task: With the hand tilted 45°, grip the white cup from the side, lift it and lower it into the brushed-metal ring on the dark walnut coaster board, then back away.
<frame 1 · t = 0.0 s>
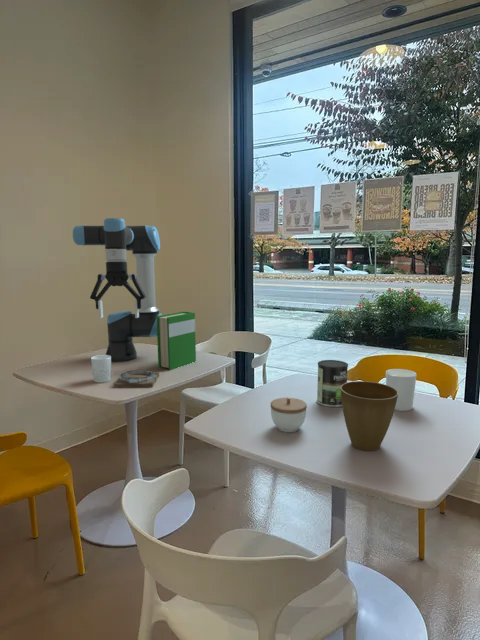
hand: (119, 317, 163), 28 cm above the table, tool pointing down, fingers open, 13 cm apart
plant pot: (366, 445, 118), on the table
white cup: (102, 380, 178), on the table
hardback book: (177, 365, 202), on the table
coffee can: (331, 402, 151), on the table
ring holder: (137, 381, 176), on the table
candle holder: (399, 407, 147), on the table
lidded jar: (288, 428, 130), on the table
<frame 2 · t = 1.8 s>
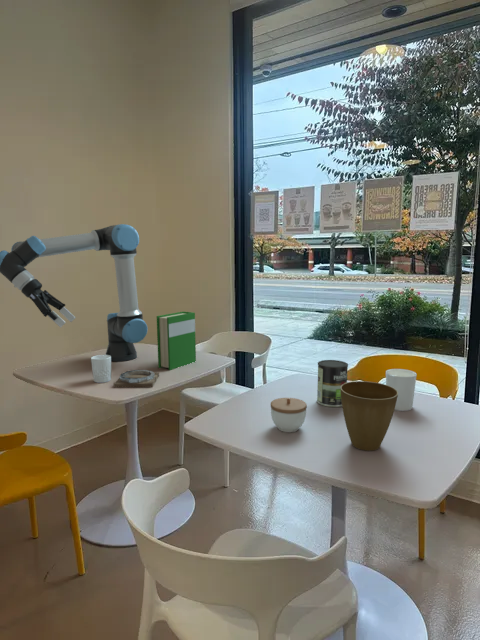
hand: (68, 322, 173), 25 cm above the table, tool tilted 45°, fingers open, 13 cm apart
nothing on the table moved.
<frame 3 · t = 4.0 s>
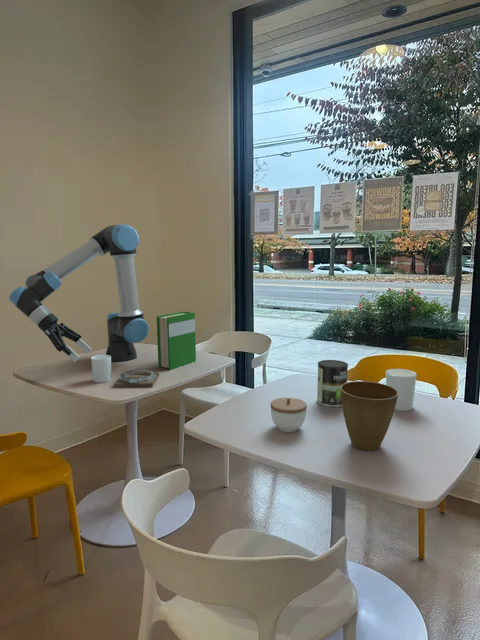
hand: (83, 355, 175), 11 cm above the table, tool tilted 45°, fingers open, 13 cm apart
nothing on the table moved.
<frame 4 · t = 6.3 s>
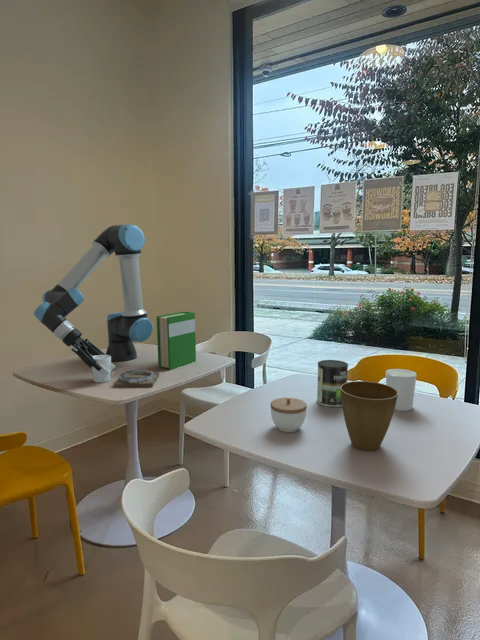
hand: (110, 371, 178), 4 cm above the table, tool tilted 45°, fingers closed on white cup, 8 cm apart
white cup: (102, 380, 178), on the table, touching gripper
everything else where it was.
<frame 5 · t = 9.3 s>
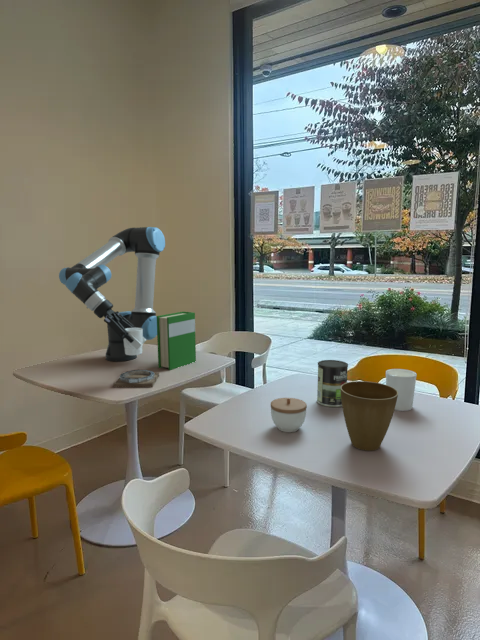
hand: (141, 344, 174), 16 cm above the table, tool tilted 45°, fingers closed on white cup, 8 cm apart
white cup: (133, 354, 174), point 12 cm above the table, touching gripper
everything else where it was.
when the fingers open (6 cm above the table, at t = 12.2 s): white cup stays where it is, resting on ring holder.
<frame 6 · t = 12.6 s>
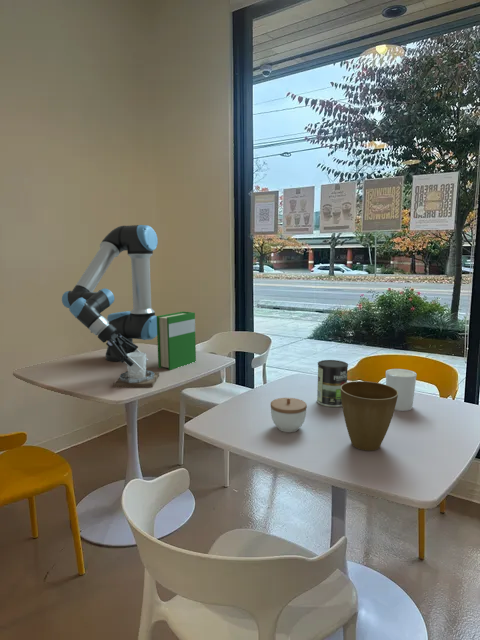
hand: (142, 365, 175), 7 cm above the table, tool tilted 45°, fingers open, 13 cm apart
white cup: (137, 378, 176), point 1 cm above the table, touching ring holder
everything else where it was.
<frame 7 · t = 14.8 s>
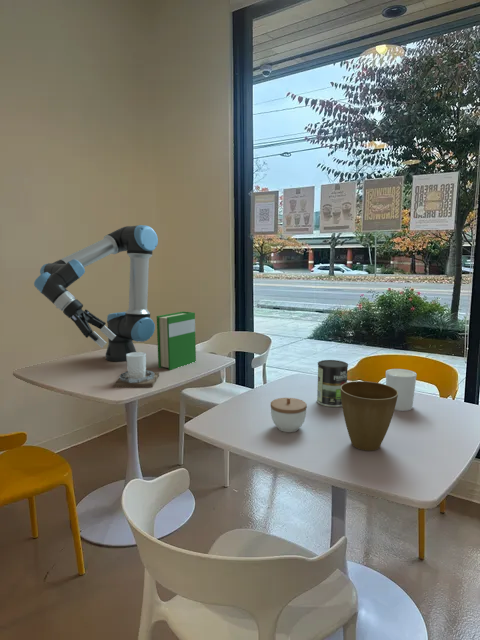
hand: (109, 341, 174), 17 cm above the table, tool tilted 45°, fingers open, 13 cm apart
nothing on the table moved.
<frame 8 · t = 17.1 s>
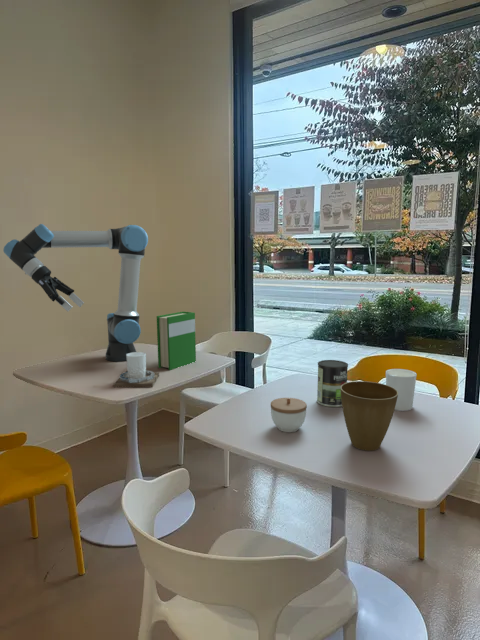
hand: (76, 307, 181), 30 cm above the table, tool tilted 45°, fingers open, 13 cm apart
nothing on the table moved.
at the end: white cup 0.1 cm off-centre on the ring holder, point 1.3 cm above the ring holder's base; white cup tilted 0°; the gripper is holding nothing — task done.
